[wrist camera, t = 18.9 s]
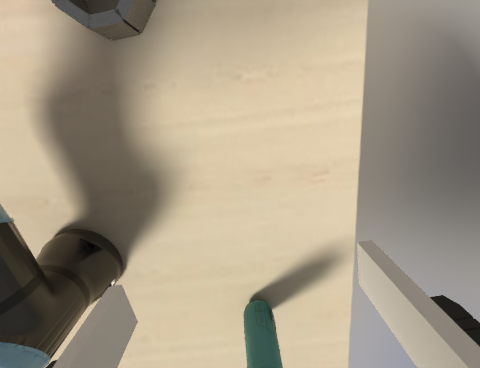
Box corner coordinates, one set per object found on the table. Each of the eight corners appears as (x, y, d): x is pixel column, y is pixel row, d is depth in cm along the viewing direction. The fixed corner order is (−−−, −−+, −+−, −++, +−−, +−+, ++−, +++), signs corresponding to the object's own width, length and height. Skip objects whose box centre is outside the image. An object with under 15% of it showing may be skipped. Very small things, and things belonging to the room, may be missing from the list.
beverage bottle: (237, 307, 54) (238, 416, 35) (256, 288, 53) (268, 392, 34) (258, 321, 56) (270, 433, 37) (278, 303, 54) (301, 411, 35)
